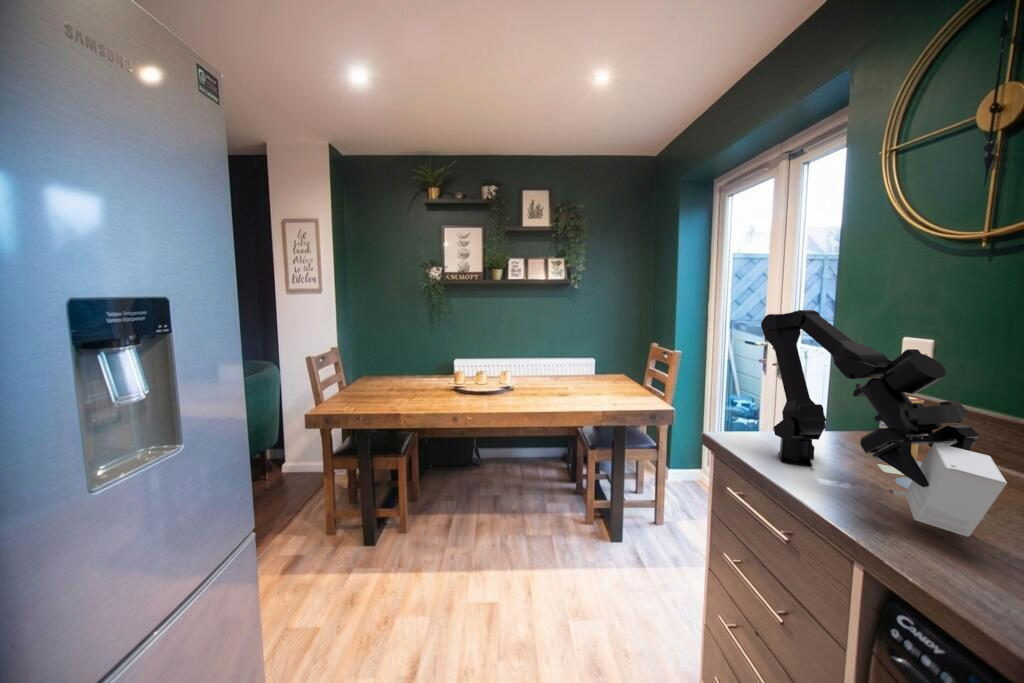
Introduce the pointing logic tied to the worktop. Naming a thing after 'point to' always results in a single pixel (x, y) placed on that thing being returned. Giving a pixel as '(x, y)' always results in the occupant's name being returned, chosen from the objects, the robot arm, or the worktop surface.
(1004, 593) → the worktop surface
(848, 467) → the worktop surface
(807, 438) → the robot arm
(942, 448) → the supplement box
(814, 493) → the worktop surface
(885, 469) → the white board
